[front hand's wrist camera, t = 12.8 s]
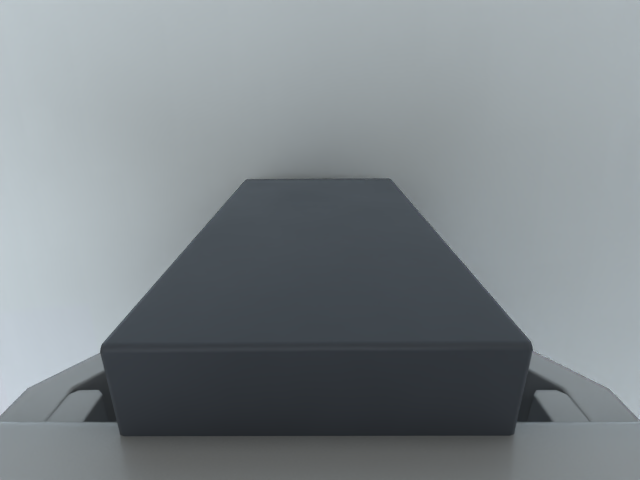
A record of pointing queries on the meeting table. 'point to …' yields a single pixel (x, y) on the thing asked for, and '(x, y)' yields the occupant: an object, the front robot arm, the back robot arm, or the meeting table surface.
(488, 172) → the meeting table surface
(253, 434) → the bar
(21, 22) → the meeting table surface
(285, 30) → the meeting table surface
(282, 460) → the front robot arm
